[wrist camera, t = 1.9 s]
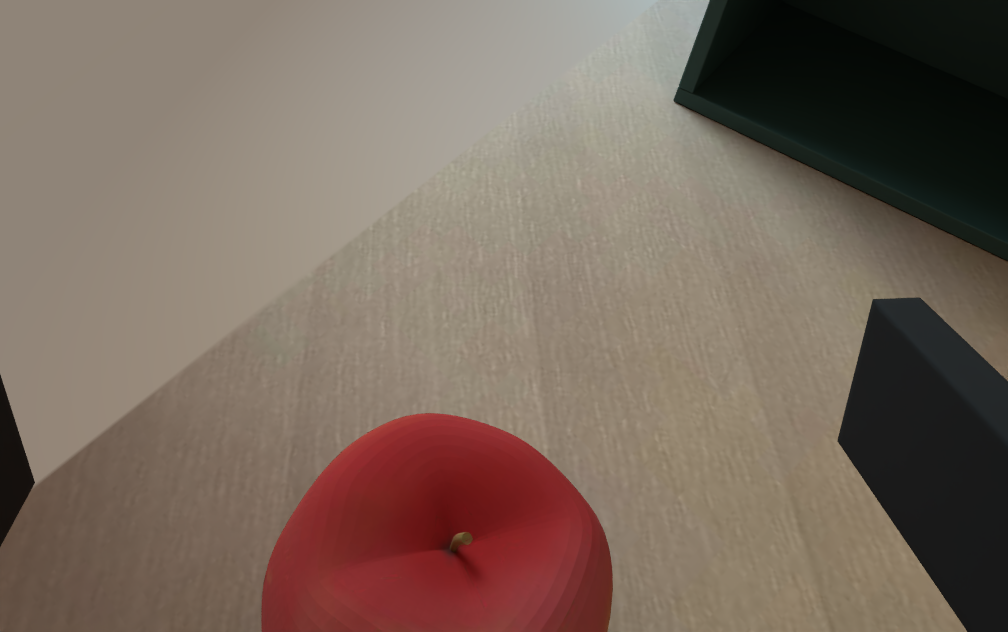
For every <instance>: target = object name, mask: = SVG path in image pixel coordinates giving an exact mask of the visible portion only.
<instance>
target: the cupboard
mask: <svg viewBox="0 0 1008 632" xmlns="http://www.w3.org/2000/svg"><path fill="white" fill-rule="evenodd" d="M674 101H675V102H677V103H679V104H681V105H684V106H686V107H688V108H690V109H692V110H694V111H696V112H698V113H700V114H702V115H704V116H706V117H709V118H711V119H713V120H715V121H717V122H719V123H721V124H723V125H725V126H727V127H729V128H732V129H734V130H736V131H738V132H740V133H742V134H744V135H746V136H748V137H750V138H752V139H755V140H757V141H759V142H761V143H763V144H765V145H767V146H769V147H771V148H773V149H775V150H778V151H780V152H782V153H784V154H786V155H788V156H790V157H792V158H794V159H796V160H798V161H800V162H803V163H805V164H807V165H809V166H811V167H813V168H815V169H817V170H819V171H821V172H823V173H826V174H828V175H830V176H832V177H834V178H836V179H838V180H840V181H842V182H844V183H846V184H849V185H851V186H853V187H855V188H857V189H859V190H861V191H863V192H865V193H867V194H869V195H871V196H874V197H876V198H878V199H880V200H882V201H884V202H886V203H888V204H890V205H892V206H894V207H897V208H899V209H901V210H903V211H905V212H907V213H909V214H911V215H913V216H915V217H917V218H920V219H922V220H924V221H926V222H928V223H930V224H932V225H934V226H936V227H938V228H940V229H943V230H945V231H947V232H949V233H951V234H953V235H955V236H957V237H959V238H961V239H963V240H965V241H968V242H970V243H972V244H974V245H976V246H978V247H980V248H982V249H984V250H986V251H988V252H991V253H993V254H995V255H997V256H999V257H1001V258H1003V259H1005V260H1007V261H1008V0H710V1H709V4H708V7H707V10H706V12H705V15H704V18H703V21H702V23H701V26H700V29H699V32H698V34H697V37H696V40H695V43H694V45H693V48H692V51H691V54H690V56H689V59H688V62H687V65H686V67H685V70H684V73H683V76H682V79H681V81H680V84H679V87H678V89H677V92H676V95H675V98H674Z"/></svg>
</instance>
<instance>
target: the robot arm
mask: <svg viewBox="0 0 1008 632" xmlns="http://www.w3.org/2000/svg"><path fill="white" fill-rule="evenodd" d="M838 442H839V444H840V445H841V447H842V448H843V450H844V451H845V453H846V454H847V456H848V457H849V459H850V460H851V462H852V463H853V464H854V466H855V467H856V469H857V470H858V472H859V473H860V475H861V476H862V478H863V479H864V481H865V482H866V484H867V485H868V486H869V488H870V489H871V491H872V492H873V494H874V495H875V497H876V498H877V500H878V501H879V503H880V504H881V506H882V507H883V508H884V510H885V511H886V513H887V514H888V516H889V517H890V519H891V520H892V522H893V523H894V525H895V526H896V527H897V529H898V530H899V532H900V533H901V535H902V536H903V538H904V539H905V541H906V542H907V544H908V545H909V547H910V548H911V549H912V551H913V552H914V554H915V555H916V557H917V558H918V560H919V561H920V563H921V564H922V566H923V567H924V569H925V570H926V571H927V573H928V574H929V576H930V577H931V579H932V580H933V582H934V583H935V585H936V586H937V588H938V589H939V591H940V592H941V593H942V595H943V596H944V598H945V599H946V601H947V602H948V604H949V605H950V607H951V608H952V610H953V611H954V612H955V614H956V615H957V617H958V618H959V620H960V621H961V623H962V624H963V626H964V627H965V629H966V630H967V632H1008V381H1007V380H1006V379H1005V378H1004V377H1003V376H1001V375H1000V374H999V373H998V372H997V371H996V370H995V369H994V368H993V367H992V366H991V365H990V364H989V363H988V362H987V361H986V360H985V359H984V358H983V357H982V356H981V355H980V354H978V353H977V352H976V351H975V350H974V349H973V348H972V347H971V346H970V345H969V344H968V343H967V342H966V341H965V340H964V339H963V338H962V337H961V336H960V335H959V334H958V333H956V332H955V331H954V330H953V329H952V328H951V327H950V326H949V325H948V324H947V323H946V322H945V321H944V320H943V319H942V318H941V317H940V316H939V315H938V314H937V313H936V312H934V311H933V310H932V309H931V308H930V307H929V306H928V305H927V304H926V303H925V302H924V301H923V300H922V299H921V298H896V299H873V301H872V305H871V309H870V313H869V317H868V321H867V325H866V329H865V333H864V337H863V341H862V345H861V349H860V353H859V357H858V361H857V365H856V369H855V373H854V377H853V381H852V385H851V389H850V393H849V397H848V401H847V405H846V409H845V413H844V417H843V421H842V425H841V429H840V433H839V437H838ZM34 483H35V482H34V478H33V475H32V472H31V469H30V466H29V463H28V460H27V456H26V453H25V450H24V447H23V444H22V441H21V438H20V435H19V432H18V428H17V425H16V422H15V419H14V416H13V413H12V410H11V406H10V403H9V400H8V397H7V394H6V391H5V388H4V385H3V382H2V378H1V375H0V546H1V544H2V543H3V541H4V539H5V537H6V535H7V533H8V531H9V530H10V528H11V526H12V524H13V522H14V520H15V519H16V517H17V515H18V513H19V511H20V509H21V507H22V506H23V504H24V502H25V500H26V498H27V496H28V495H29V493H30V491H31V489H32V487H33V485H34Z"/></svg>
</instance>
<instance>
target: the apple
mask: <svg viewBox="0 0 1008 632" xmlns="http://www.w3.org/2000/svg"><path fill="white" fill-rule="evenodd" d="M612 591H613V582H612V564H611V557H610V551H609V546H608V543H607V539H606V536H605V533H604V531H603V528H602V526H601V524H600V522H599V520H598V518H597V516H596V514H595V513H594V511H593V510H592V508H591V507H590V505H589V504H588V503H587V502H586V500H585V499H584V498H583V497H582V495H581V494H580V493H579V492H578V490H577V489H576V488H575V487H574V486H573V485H572V484H571V482H570V481H569V480H568V479H567V478H566V477H565V476H564V475H563V474H562V473H561V472H560V471H559V470H558V469H557V468H556V467H555V466H554V465H553V464H552V463H551V462H550V461H549V460H548V459H547V458H545V457H544V456H543V455H542V454H541V453H540V452H538V451H537V450H536V449H534V448H533V447H532V446H530V445H529V444H528V443H526V442H524V441H523V440H521V439H519V438H518V437H516V436H514V435H512V434H510V433H508V432H505V431H503V430H501V429H498V428H496V427H493V426H490V425H488V424H485V423H481V422H478V421H475V420H471V419H467V418H463V417H458V416H453V415H446V414H434V413H425V414H415V415H410V416H405V417H402V418H398V419H395V420H393V421H390V422H388V423H386V424H383V425H381V426H379V427H377V428H375V429H374V430H372V431H370V432H368V433H367V434H365V435H363V436H362V437H360V438H359V439H357V440H356V441H354V442H353V443H352V444H351V445H349V446H348V447H347V448H346V449H345V450H343V451H342V452H341V453H340V454H339V455H338V456H337V457H336V458H335V459H334V460H333V461H332V462H331V463H330V464H329V465H328V466H327V467H326V469H325V470H324V471H323V472H322V473H321V474H320V476H319V477H318V478H317V480H316V481H315V482H314V483H313V485H312V486H311V488H310V489H309V490H308V492H307V493H306V494H305V496H304V497H303V499H302V500H301V502H300V503H299V505H298V506H297V508H296V510H295V511H294V513H293V514H292V516H291V517H290V519H289V521H288V522H287V524H286V526H285V528H284V530H283V531H282V533H281V535H280V537H279V539H278V541H277V543H276V545H275V547H274V550H273V552H272V555H271V558H270V560H269V563H268V567H267V571H266V575H265V580H264V585H263V593H262V632H607V631H608V625H609V620H610V613H611V602H612Z"/></svg>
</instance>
